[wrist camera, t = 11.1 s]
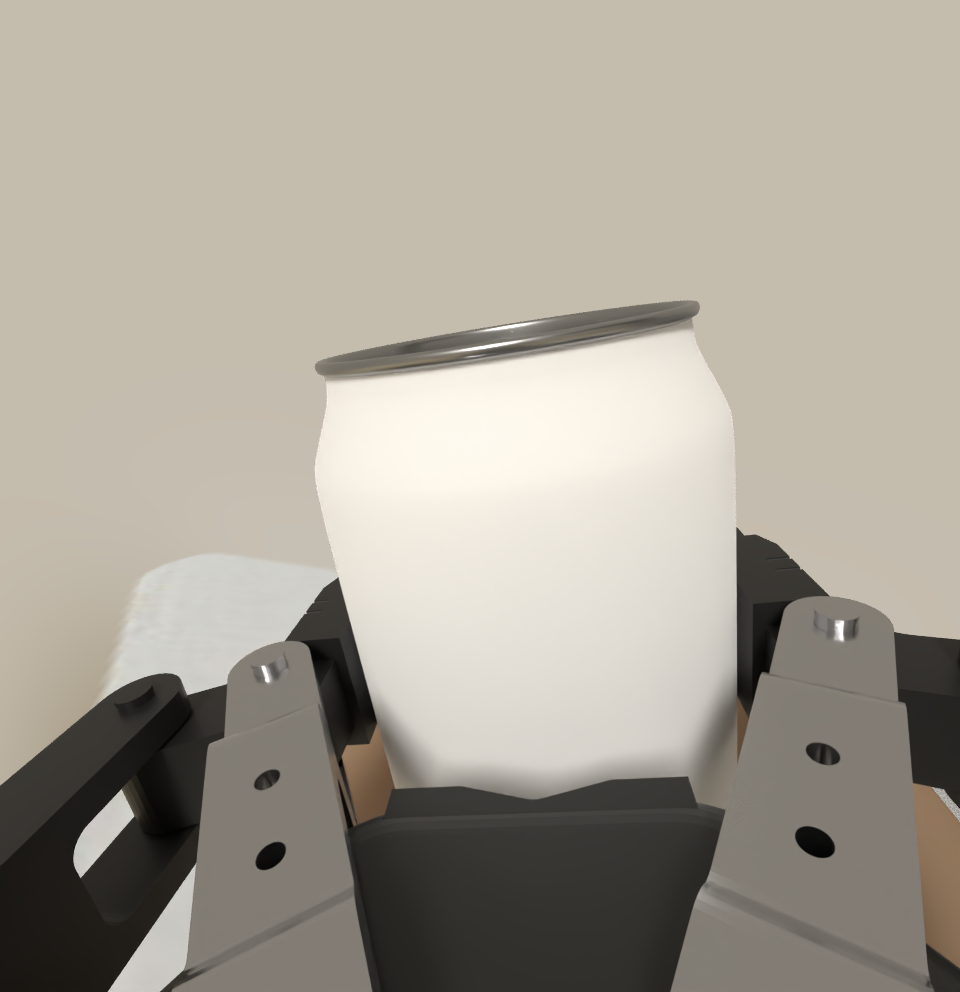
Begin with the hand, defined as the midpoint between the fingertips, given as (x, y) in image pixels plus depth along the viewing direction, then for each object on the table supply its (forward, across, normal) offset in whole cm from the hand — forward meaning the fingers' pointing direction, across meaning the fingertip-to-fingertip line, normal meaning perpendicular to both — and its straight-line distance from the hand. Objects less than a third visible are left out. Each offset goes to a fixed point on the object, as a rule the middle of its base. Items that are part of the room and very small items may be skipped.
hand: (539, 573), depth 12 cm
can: (-2, 0, +7) cm, 7 cm away
